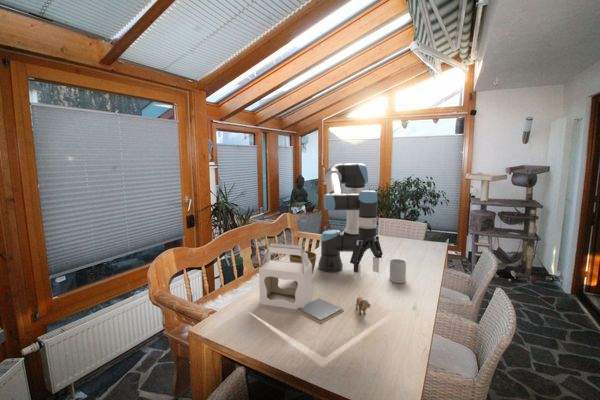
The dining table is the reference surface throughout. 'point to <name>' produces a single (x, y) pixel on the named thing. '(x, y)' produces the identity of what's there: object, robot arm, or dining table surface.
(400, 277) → the mug
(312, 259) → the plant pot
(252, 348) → the dining table surface
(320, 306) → the pad
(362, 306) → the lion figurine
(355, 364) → the dining table surface
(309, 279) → the gable box
